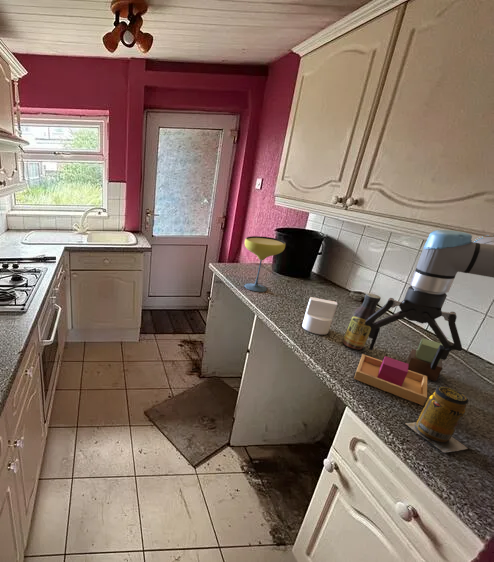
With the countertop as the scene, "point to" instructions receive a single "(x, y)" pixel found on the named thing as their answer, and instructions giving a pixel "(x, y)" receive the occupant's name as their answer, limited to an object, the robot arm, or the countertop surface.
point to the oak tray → (410, 389)
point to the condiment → (441, 419)
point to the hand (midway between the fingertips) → (400, 357)
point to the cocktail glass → (262, 254)
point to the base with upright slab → (319, 315)
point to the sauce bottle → (361, 323)
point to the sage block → (427, 350)
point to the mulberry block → (393, 371)
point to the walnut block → (423, 366)
